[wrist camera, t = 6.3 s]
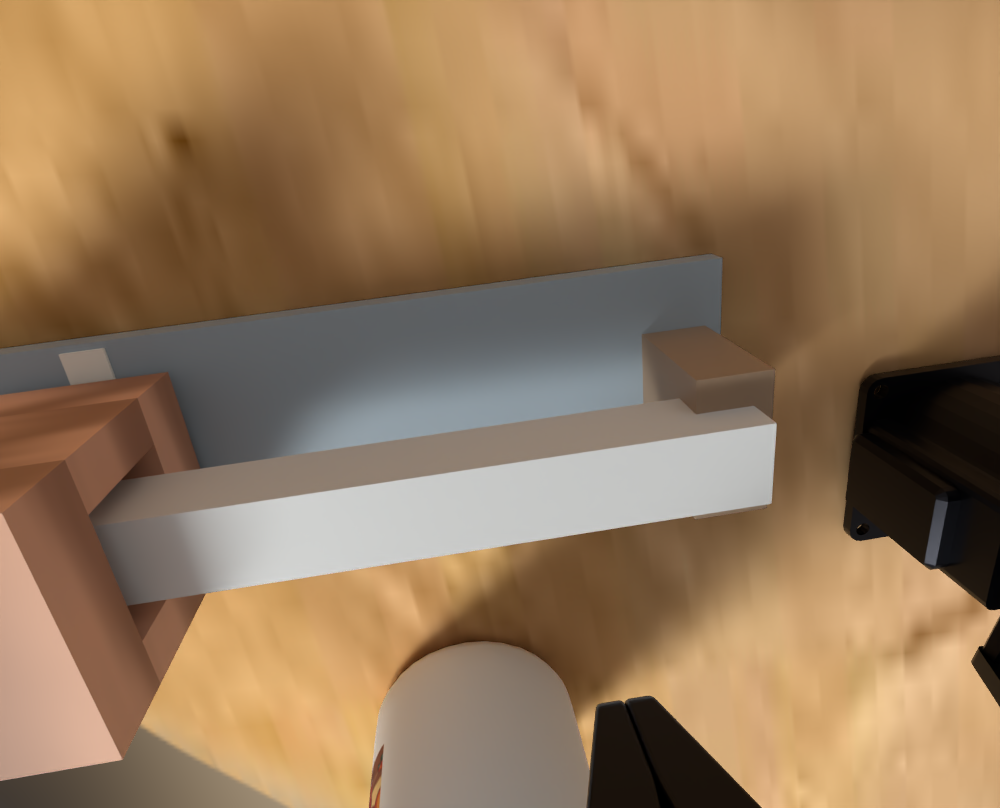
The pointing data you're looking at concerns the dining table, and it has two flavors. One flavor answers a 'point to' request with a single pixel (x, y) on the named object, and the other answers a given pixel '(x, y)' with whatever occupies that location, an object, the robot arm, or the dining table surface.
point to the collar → (79, 572)
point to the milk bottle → (478, 734)
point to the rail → (429, 425)
